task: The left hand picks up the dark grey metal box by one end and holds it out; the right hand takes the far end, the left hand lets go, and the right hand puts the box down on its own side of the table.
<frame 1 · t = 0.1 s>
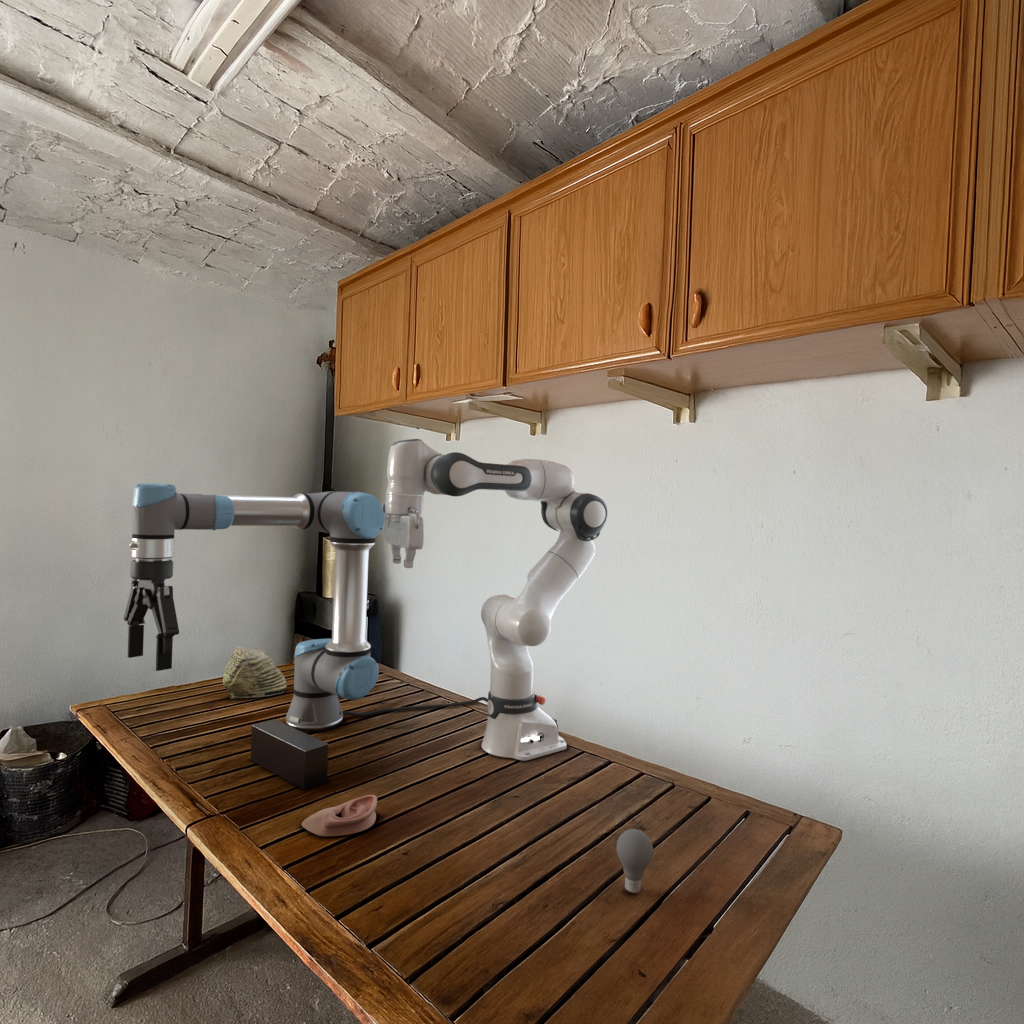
left hand: (149, 662, 129), 28 cm above the table, tool pointing down, fingers open, 13 cm apart
right hand: (402, 565, 150), 48 cm above the table, tool pointing down, fingers open, 8 cm apart
box: (287, 770, 146), on the table
light bulb: (632, 891, 106), on the table
anatomical model: (339, 823, 123), on the table
fossil: (254, 694, 198), on the table
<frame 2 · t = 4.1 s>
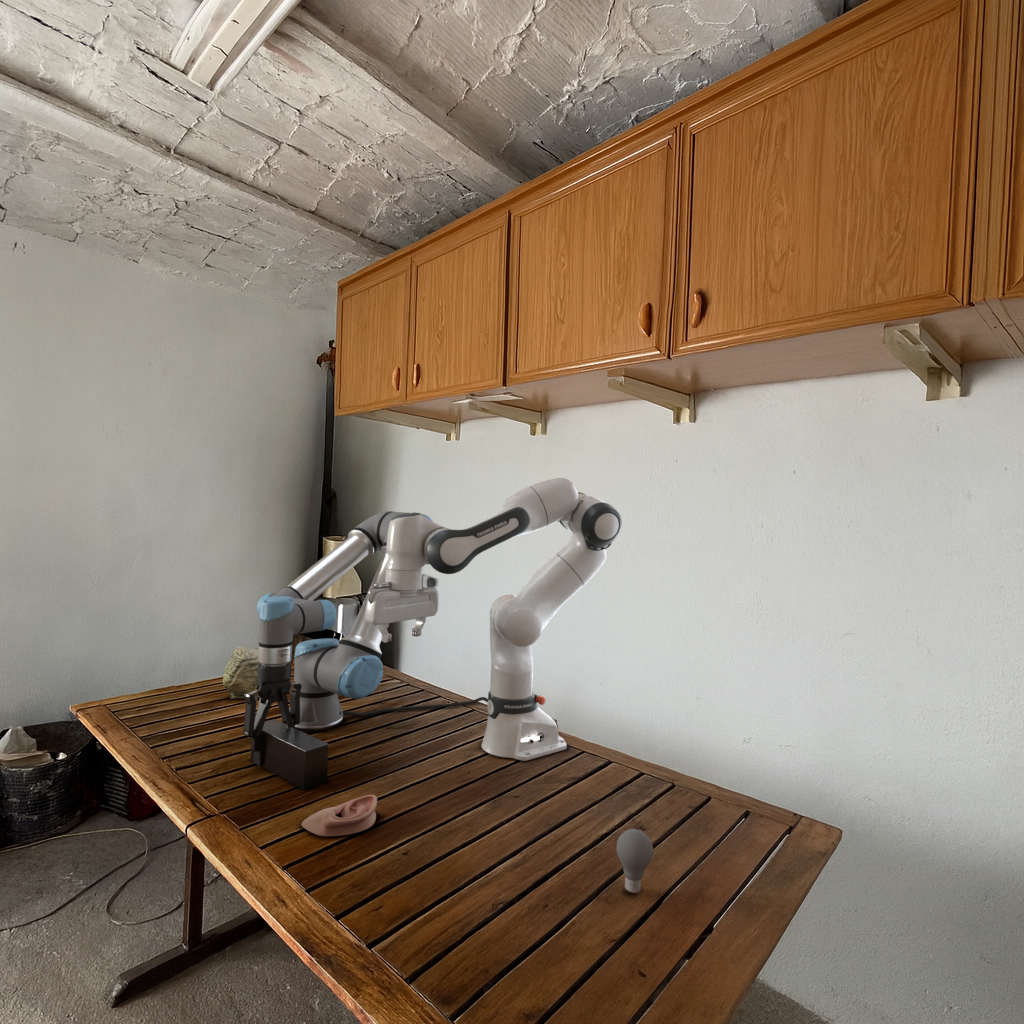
left hand: (271, 759, 150), 0 cm above the table, tool pointing down, fingers closed on box, 6 cm apart
right hand: (401, 638, 151), 30 cm above the table, tool pointing down, fingers open, 8 cm apart
box: (287, 770, 146), on the table, touching left hand
everything else where it was.
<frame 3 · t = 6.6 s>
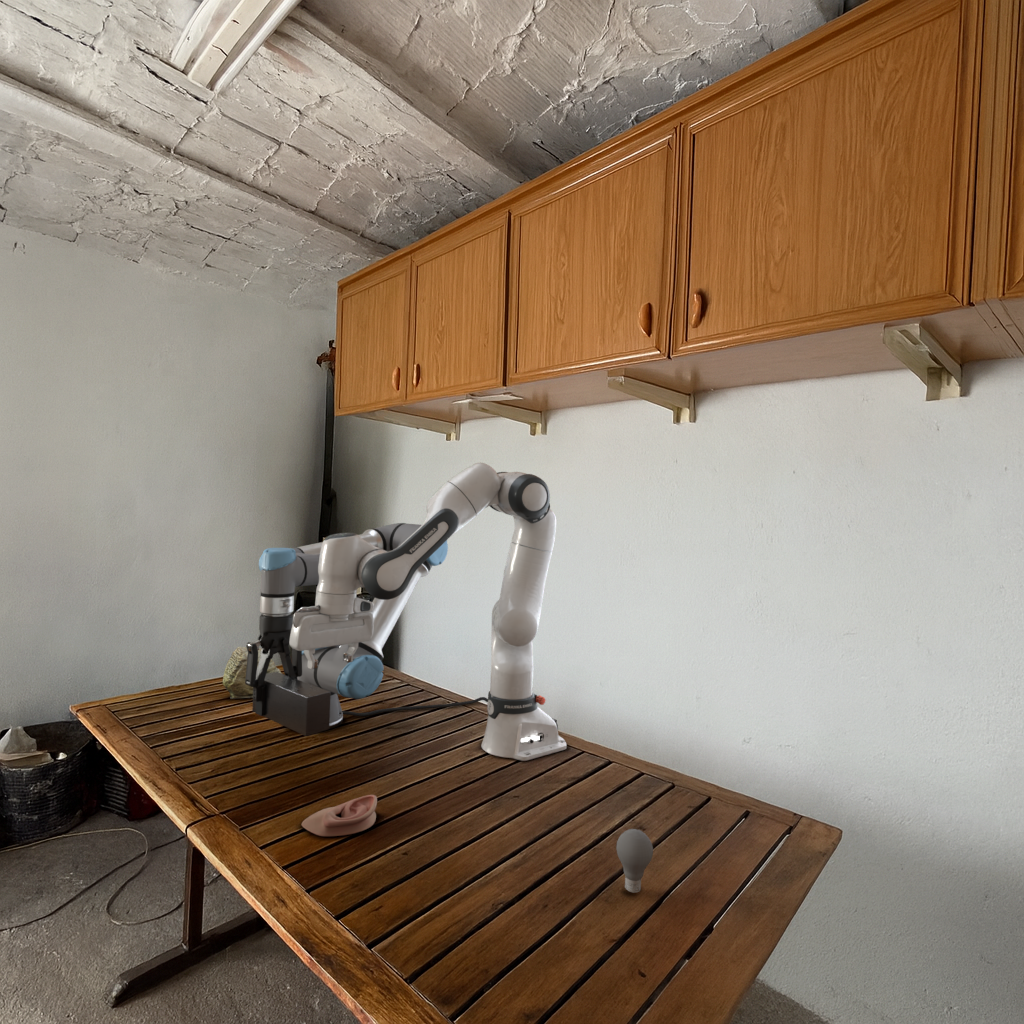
left hand: (273, 710, 150), 12 cm above the table, tool pointing down, fingers closed on box, 6 cm apart
right hand: (330, 664, 143), 25 cm above the table, tool pointing down, fingers open, 8 cm apart
box: (289, 720, 146), point 12 cm above the table, touching left hand
everything else where it was.
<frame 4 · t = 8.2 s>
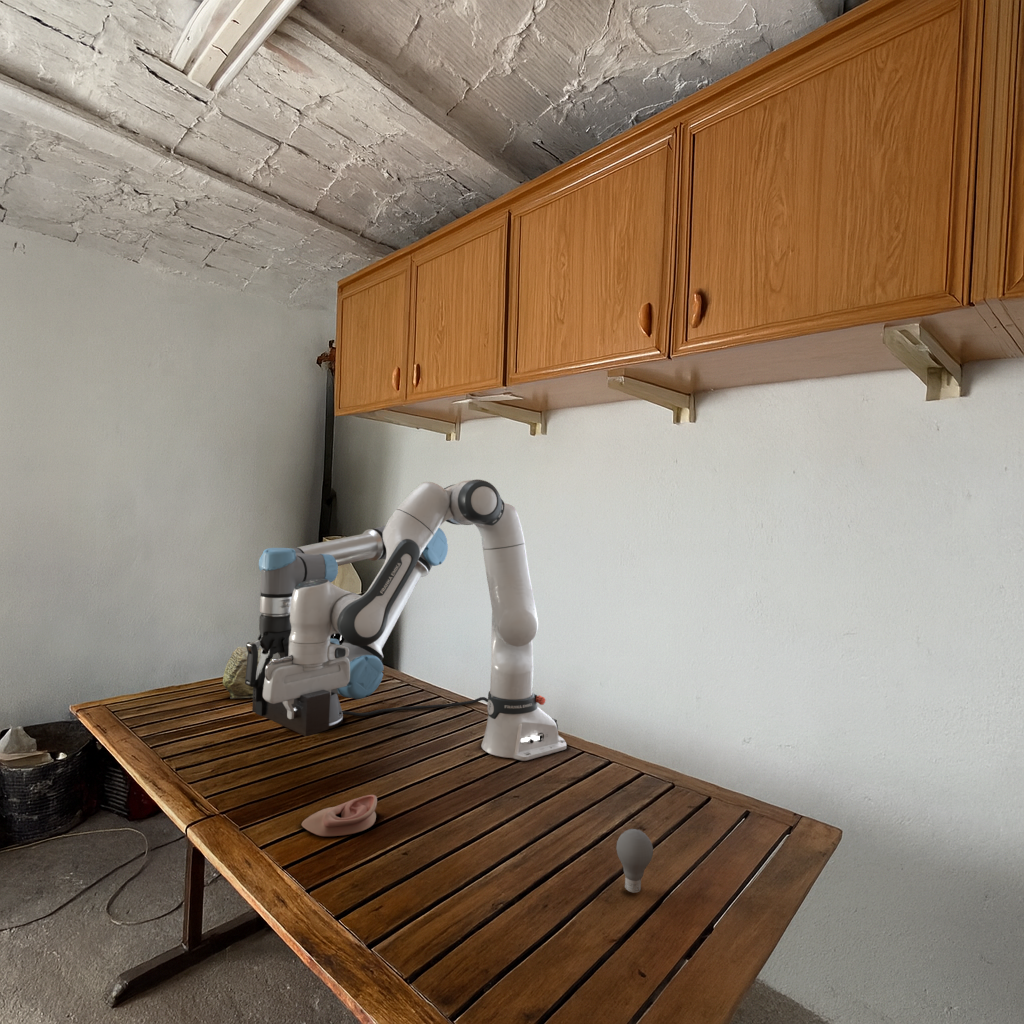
left hand: (273, 710, 150), 12 cm above the table, tool pointing down, fingers closed on box, 6 cm apart
right hand: (307, 714, 141), 15 cm above the table, tool pointing down, fingers closed on box, 6 cm apart
box: (289, 720, 146), point 12 cm above the table, touching left hand, right hand
everything else where it was.
when the left hand's fingers open (12 cm above the table, at t = 9.3 s): box stays where it is, held by the right hand.
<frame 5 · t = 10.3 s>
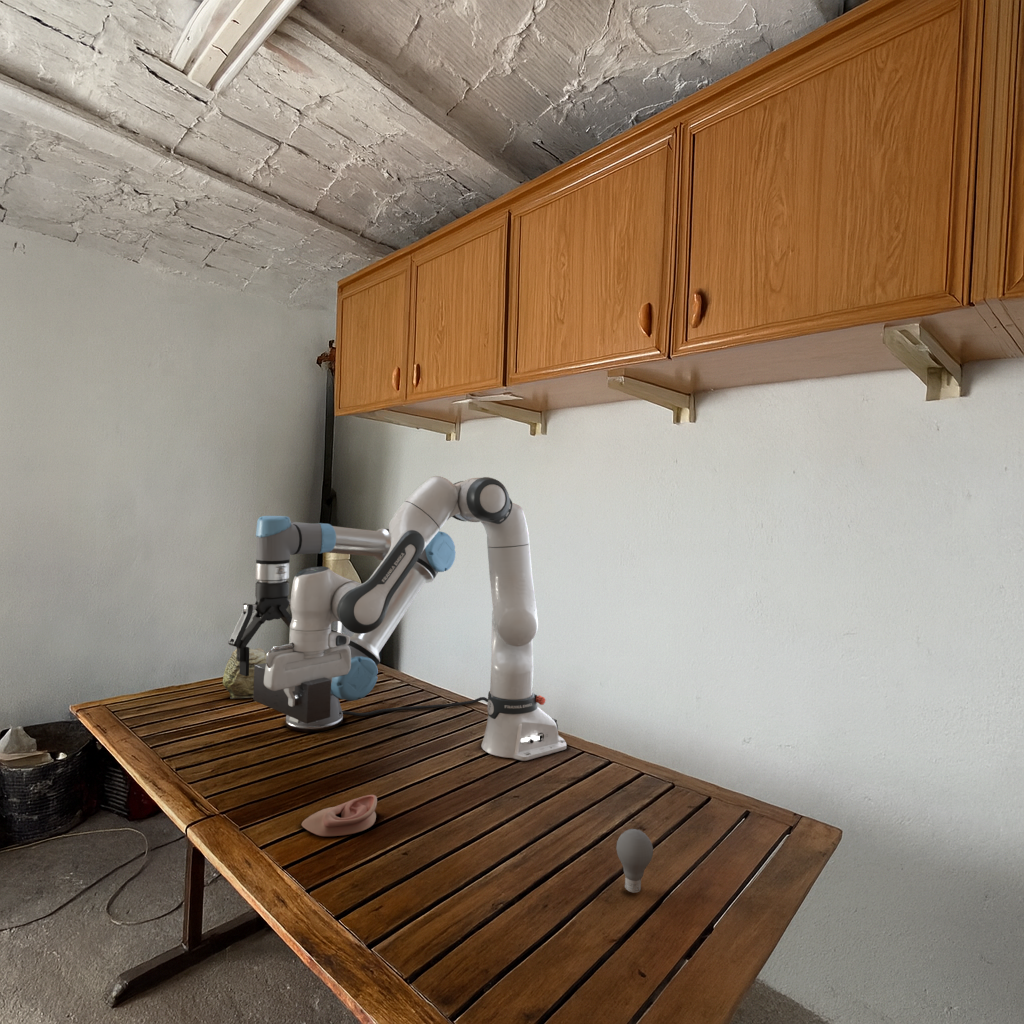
left hand: (270, 668, 152), 21 cm above the table, tool pointing down, fingers open, 13 cm apart
right hand: (308, 701, 141), 18 cm above the table, tool pointing down, fingers closed on box, 6 cm apart
box: (290, 708, 145), point 14 cm above the table, touching right hand
everything else where it was.
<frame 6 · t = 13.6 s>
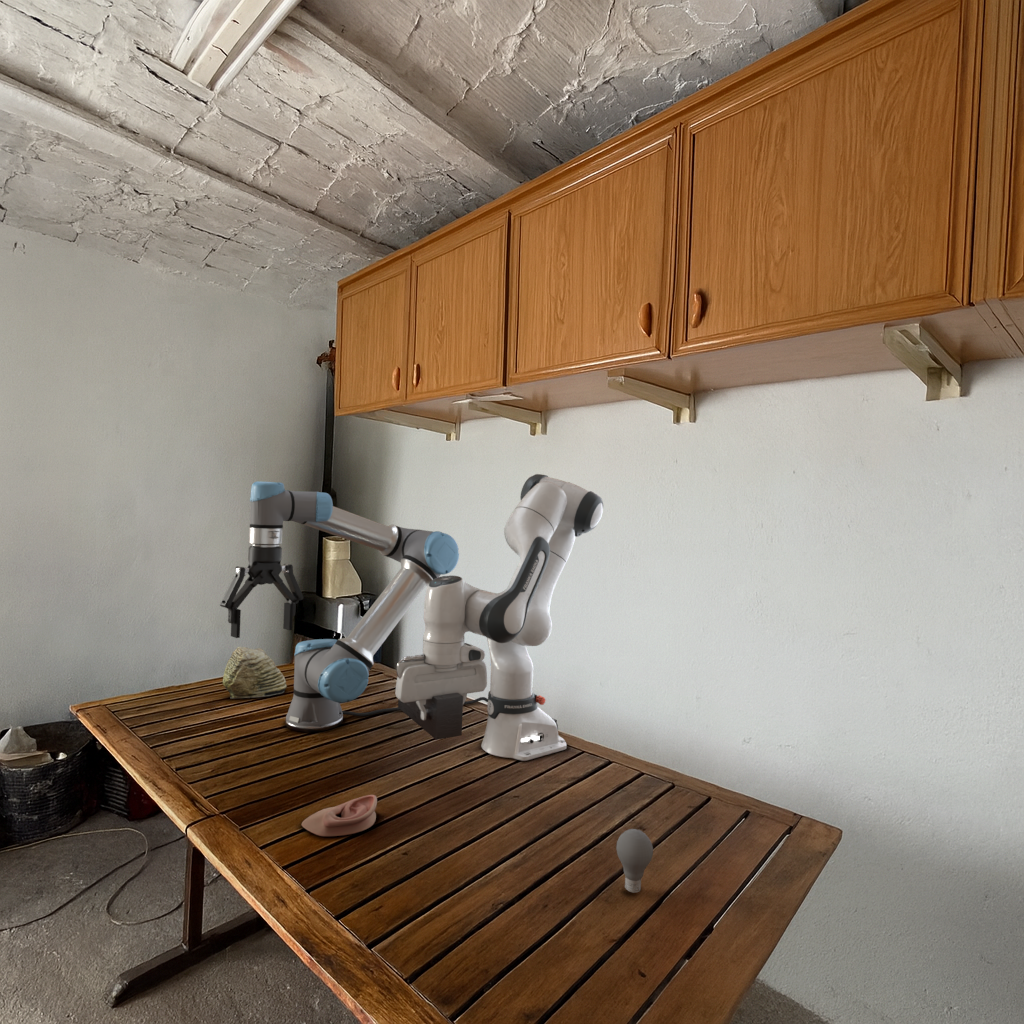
left hand: (262, 633, 153), 30 cm above the table, tool pointing down, fingers open, 13 cm apart
right hand: (441, 716, 136), 17 cm above the table, tool pointing down, fingers closed on box, 6 cm apart
box: (428, 720, 142), point 14 cm above the table, touching right hand
everything else where it was.
when the right hand's fingers open (4 cm above the table, at t = 18.9 s): box stays where it is, on the table.
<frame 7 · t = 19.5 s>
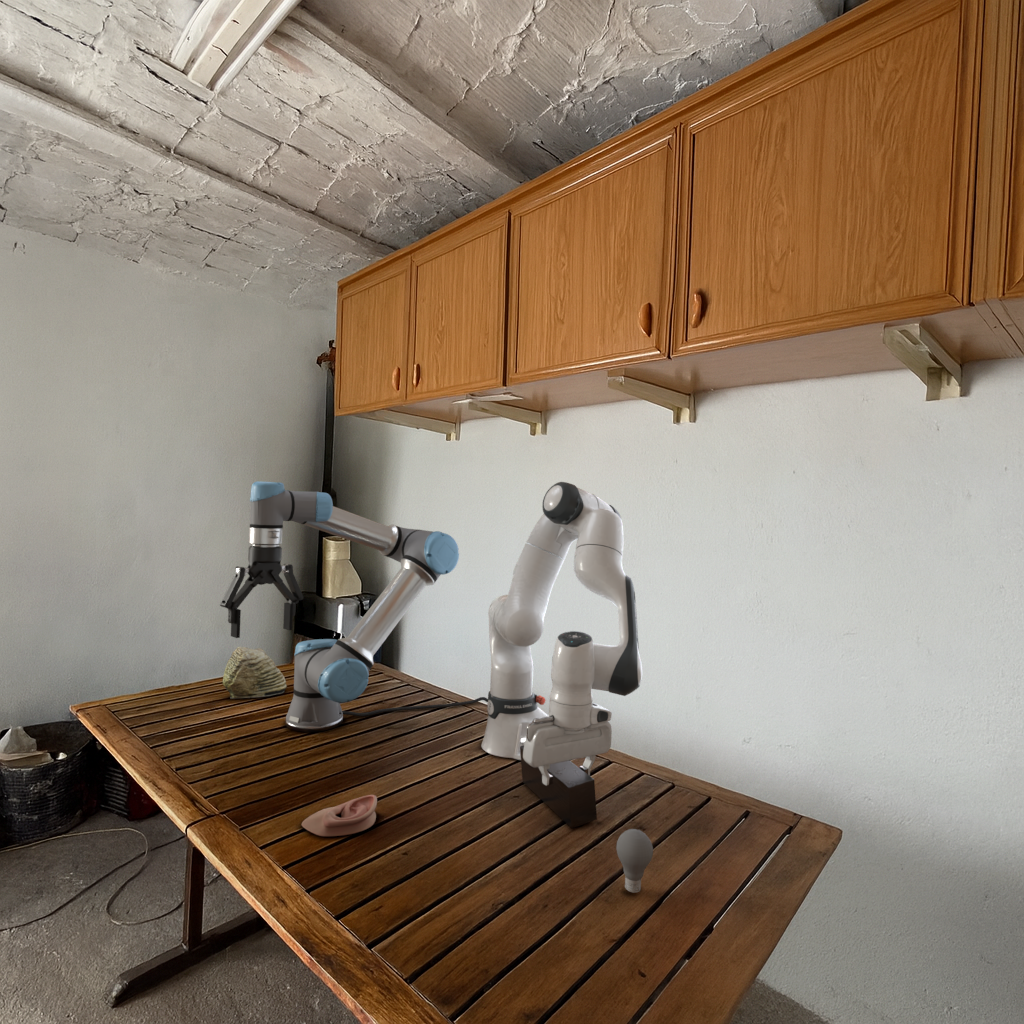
left hand: (262, 633, 153), 30 cm above the table, tool pointing down, fingers open, 13 cm apart
right hand: (566, 779, 130), 8 cm above the table, tool pointing down, fingers open, 8 cm apart
box: (557, 799, 136), on the table, tilted 7°
everything else where it was.
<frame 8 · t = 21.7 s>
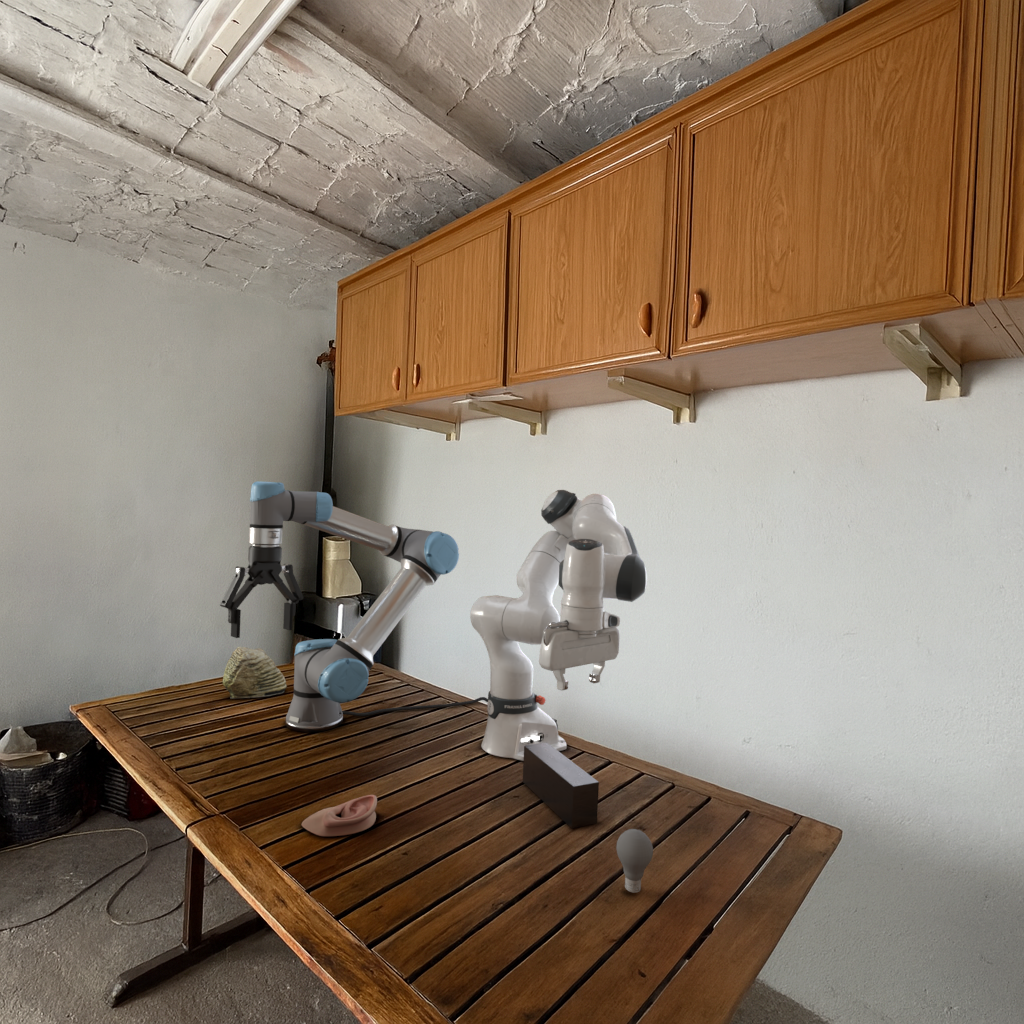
left hand: (262, 633, 153), 30 cm above the table, tool pointing down, fingers open, 13 cm apart
right hand: (578, 685, 130), 27 cm above the table, tool pointing down, fingers open, 8 cm apart
box: (557, 801, 136), on the table
everything else where it was.
at the end: box inside the target area (6.6 cm from its centre), on the table; the left hand is holding nothing; the right hand is holding nothing; box at rest at the end (0.0 cm/s) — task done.
